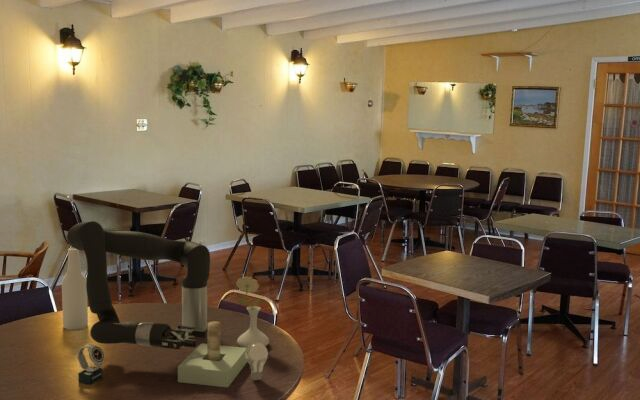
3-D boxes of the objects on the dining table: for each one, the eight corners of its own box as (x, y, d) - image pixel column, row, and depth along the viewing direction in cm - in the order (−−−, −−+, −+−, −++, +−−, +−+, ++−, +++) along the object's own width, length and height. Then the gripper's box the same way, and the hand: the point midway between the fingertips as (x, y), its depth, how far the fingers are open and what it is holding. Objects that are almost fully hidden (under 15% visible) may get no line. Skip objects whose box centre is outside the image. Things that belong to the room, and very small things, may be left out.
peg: (209, 368, 210) (210, 320, 207) (221, 369, 209) (222, 322, 207) (205, 373, 206) (205, 325, 204) (217, 374, 205) (217, 326, 203)
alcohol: (57, 328, 242) (55, 249, 238) (74, 321, 251) (72, 245, 246) (76, 332, 239) (74, 252, 235) (93, 324, 247) (91, 247, 243)
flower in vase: (274, 343, 233) (276, 275, 230) (258, 354, 223) (260, 283, 220) (243, 337, 239) (244, 271, 235) (226, 347, 229) (227, 278, 225)
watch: (95, 386, 195) (94, 351, 193) (73, 381, 198) (73, 346, 196) (107, 379, 200) (107, 344, 198) (86, 374, 203) (85, 340, 201)
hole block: (201, 357, 219) (201, 343, 218) (247, 362, 216) (247, 347, 215) (177, 382, 199) (177, 366, 198) (228, 387, 196) (228, 371, 196)
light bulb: (245, 375, 205) (245, 339, 203) (267, 375, 206) (268, 339, 204) (244, 385, 198) (245, 347, 196) (267, 385, 199) (268, 347, 197)
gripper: (143, 330, 202) (193, 335, 199) (162, 316, 216) (208, 320, 213) (143, 353, 203) (193, 358, 200) (162, 338, 217) (208, 342, 214)
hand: (201, 339), depth 207 cm, fingers open, 8 cm apart
